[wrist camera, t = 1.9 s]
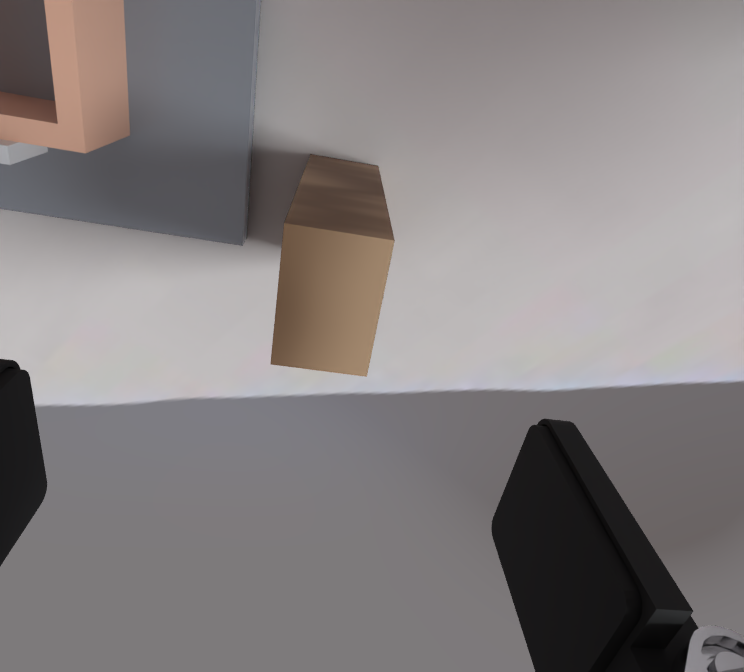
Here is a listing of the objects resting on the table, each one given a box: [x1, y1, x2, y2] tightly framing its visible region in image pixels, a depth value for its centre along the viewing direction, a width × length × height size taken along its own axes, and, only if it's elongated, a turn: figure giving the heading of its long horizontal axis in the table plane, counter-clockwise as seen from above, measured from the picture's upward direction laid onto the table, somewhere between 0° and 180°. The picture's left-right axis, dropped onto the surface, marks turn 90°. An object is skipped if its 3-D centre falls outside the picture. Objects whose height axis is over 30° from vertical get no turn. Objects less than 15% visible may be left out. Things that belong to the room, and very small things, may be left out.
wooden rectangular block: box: [271, 154, 394, 377], centre depth 19 cm, size 3×4×10 cm, turn 170°
